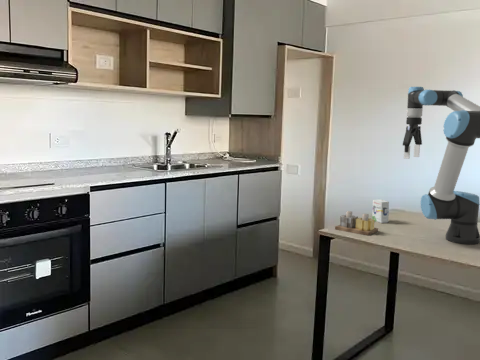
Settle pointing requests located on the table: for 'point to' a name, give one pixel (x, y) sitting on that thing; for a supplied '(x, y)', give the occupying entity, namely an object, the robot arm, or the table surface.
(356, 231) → the gear board
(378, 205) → the ink box
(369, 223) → the brass gear
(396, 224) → the table surface
